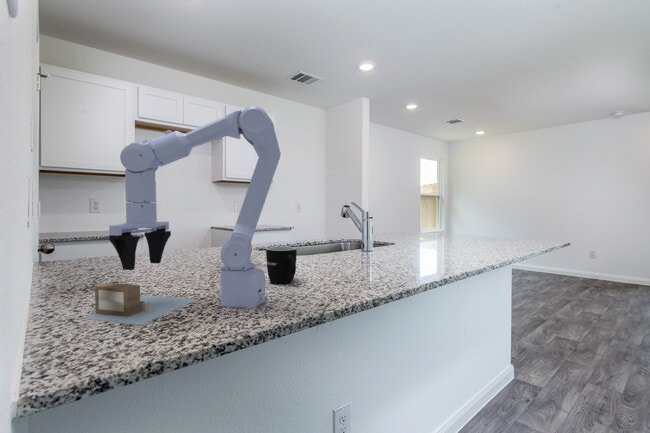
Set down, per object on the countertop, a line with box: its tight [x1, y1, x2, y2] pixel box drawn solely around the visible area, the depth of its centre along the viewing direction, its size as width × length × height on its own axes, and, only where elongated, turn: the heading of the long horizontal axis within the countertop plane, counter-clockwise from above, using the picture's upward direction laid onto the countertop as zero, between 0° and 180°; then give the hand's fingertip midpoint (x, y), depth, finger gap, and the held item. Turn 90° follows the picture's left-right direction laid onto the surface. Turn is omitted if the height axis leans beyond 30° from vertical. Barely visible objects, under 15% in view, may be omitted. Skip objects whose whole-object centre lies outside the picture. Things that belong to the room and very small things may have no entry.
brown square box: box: [94, 282, 141, 317], centre depth 68 cm, size 8×3×6 cm, turn 76°
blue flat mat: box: [79, 294, 198, 326], centre depth 71 cm, size 14×17×3 cm
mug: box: [265, 246, 298, 285], centre depth 99 cm, size 12×9×10 cm
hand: (142, 266), depth 72 cm, fingers open, 7 cm apart
